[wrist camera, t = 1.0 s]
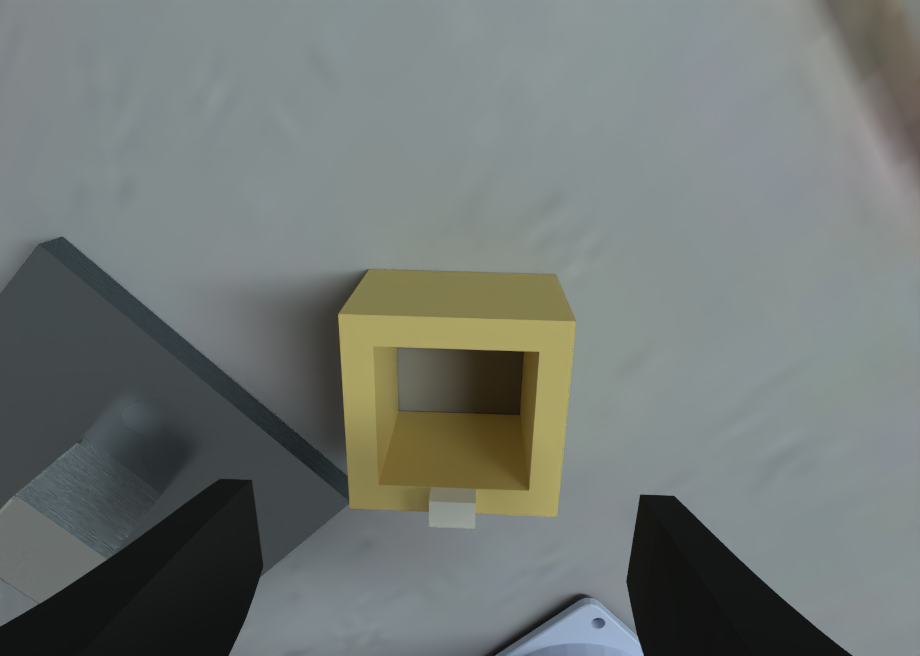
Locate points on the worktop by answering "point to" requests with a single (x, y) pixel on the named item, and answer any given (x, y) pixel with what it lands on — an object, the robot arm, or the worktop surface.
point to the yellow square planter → (455, 434)
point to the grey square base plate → (126, 430)
